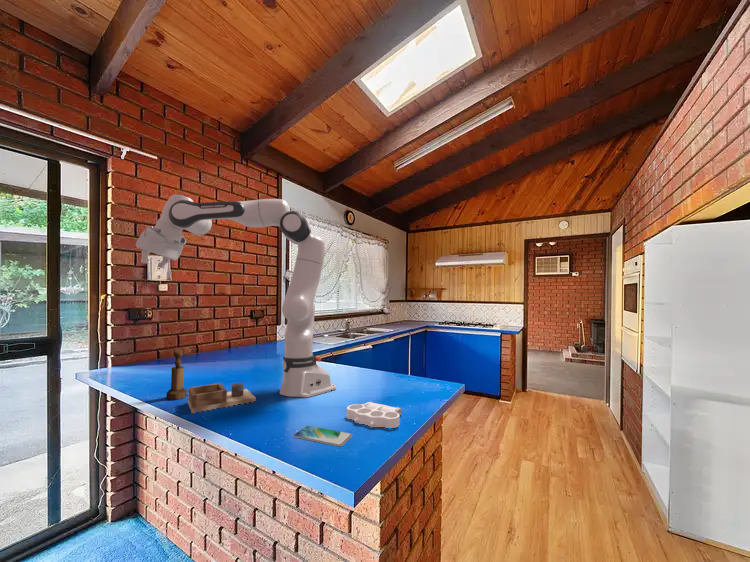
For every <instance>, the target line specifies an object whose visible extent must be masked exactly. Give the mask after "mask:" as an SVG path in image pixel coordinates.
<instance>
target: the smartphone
mask: <svg viewBox="0 0 750 562" xmlns="http://www.w3.org/2000/svg"><path fill="white" fill-rule="evenodd" d="M293 436H294V437H296V439H299V438H301V439H300V440H304V439H305V440H304V441H309V440H310V441H309V442H314V441H316V442H315V443H318V442H320V443H321V444H323V443H324V445H328V444H329V446H333V445H334V447H338V446H339V448H340V446H341V447H343V446H344V445H345V444H346V443H347V441H349V440H350V439H352V437H353V434H352V433H350V432H346V431H345V432H344V431H339V430H334V429H328V428H323V427H318V426H315V425H314V426H313V425H305V426H304V427H303V428H301V429H300V430H298V431H297V432H295V433H294V434H293ZM294 437H293V438H294Z"/></svg>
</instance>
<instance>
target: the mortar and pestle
mask: <svg viewBox="0 0 750 562" xmlns="http://www.w3.org/2000/svg"><path fill="white" fill-rule="evenodd" d="M183 353H184V352H183V350H182V349H180V348H177V349H175V350H174V351H173V356H174V358H175V361H174V365H175V366H173V367H171V379H170V381H171V382H170V389H168V391H167V392H166V397H165V398H166V399H167V400H171V401H173V400H174V401H175V400H181V399H184V398H187V395H188V390H187V389H186V388H185V387H184V375H185V374H184V373H185V371H184V370H185V366H181V365H182V361H183V360H181V358H182V356H183Z"/></svg>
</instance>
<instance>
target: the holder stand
mask: <svg viewBox="0 0 750 562" xmlns="http://www.w3.org/2000/svg"><path fill="white" fill-rule="evenodd" d="M187 395H188V397H187V398H188V399H187V404H188V406H189V410H190V409H191V410H190V412H191V414H192V413H193V414H196V413H195V412H199V413H202V412H201V411H204V412H207V411H206V410H209V411H212V410H211V409H215V410H217V409H216V408H220V409H223V408H222V407H225V408H228V406H230V407H234V406H233V405H236V406H239V405H238V404H241V405H245V404H244V403H246V404H250V403H249V402H251V403H255V402H254V401H257V400H256V399H257V398H256V396H255V395H254V394H253V393H252V392H251V391H250V390H248V388H244V383H243V382H235V383H232V384H231V390H230V391H227V389H226V388H225V386H224V385H223V384H222V382H218V383H212V384H203V385H198V386H191V387H188V392H187Z"/></svg>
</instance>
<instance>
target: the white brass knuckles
mask: <svg viewBox="0 0 750 562" xmlns="http://www.w3.org/2000/svg"><path fill="white" fill-rule="evenodd" d="M402 412H403V410H402V408H400V407H398V406H397V407H394V406H390V405H386V404H381V403H377V402H376V403H375V402H372V401H368V402H366V403H362V404H360V403H356V404H355V403H354V404H350V405H348V406H346V419H347V418H348V419H347V420H349V419H352V420H351V421H353V420H354V423H356V422H357V423H359V424H365V425H364V426H366V425H368V426H370V427H369V428H373V427H386V428H395V427H398V426H399V425H400V423H401V420H400V419H401V418H400V417H401V416H402ZM400 415H401V416H400ZM357 423H356V424H357ZM359 424H358V425H359ZM368 426H367V427H368ZM399 427H400V426H399ZM399 427H398V428H399ZM386 428H385V429H386Z"/></svg>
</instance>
